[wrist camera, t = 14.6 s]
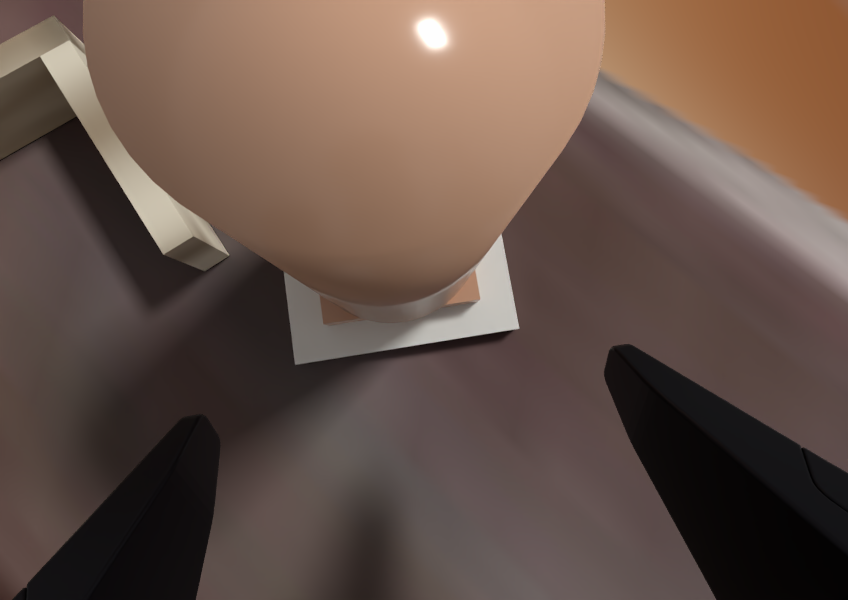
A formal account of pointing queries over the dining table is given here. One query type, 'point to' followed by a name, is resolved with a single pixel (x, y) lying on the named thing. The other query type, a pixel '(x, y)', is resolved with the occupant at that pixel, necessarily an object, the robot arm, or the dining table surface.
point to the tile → (371, 336)
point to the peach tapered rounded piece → (350, 128)
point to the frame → (75, 96)
